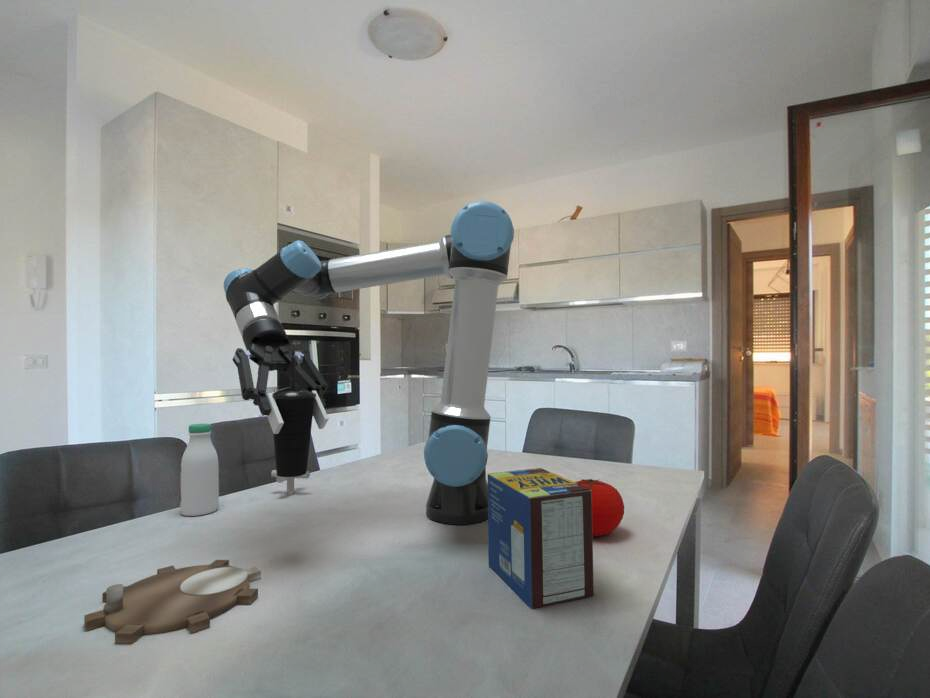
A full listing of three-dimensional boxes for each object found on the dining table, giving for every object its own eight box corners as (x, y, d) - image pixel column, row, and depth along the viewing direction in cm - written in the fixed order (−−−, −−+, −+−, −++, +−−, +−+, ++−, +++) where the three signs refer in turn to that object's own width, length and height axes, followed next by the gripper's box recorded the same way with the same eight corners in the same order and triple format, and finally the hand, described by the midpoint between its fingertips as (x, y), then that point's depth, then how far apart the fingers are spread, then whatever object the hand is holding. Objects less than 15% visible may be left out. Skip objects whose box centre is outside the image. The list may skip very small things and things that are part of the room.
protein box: (542, 556, 84) (541, 467, 84) (595, 597, 70) (593, 488, 70) (486, 565, 80) (485, 472, 81) (530, 610, 66) (529, 496, 66)
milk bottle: (226, 508, 113) (226, 423, 113) (195, 518, 106) (195, 427, 106) (203, 505, 116) (203, 421, 116) (172, 514, 109) (172, 425, 109)
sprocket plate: (286, 568, 80) (286, 542, 80) (210, 645, 58) (210, 610, 58) (159, 566, 81) (159, 541, 81) (38, 641, 59) (38, 607, 60)
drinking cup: (287, 482, 77) (288, 357, 78) (258, 475, 82) (259, 356, 82) (324, 472, 84) (326, 357, 84) (296, 466, 88) (297, 356, 88)
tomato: (573, 519, 103) (572, 470, 104) (629, 528, 98) (628, 476, 98) (554, 537, 93) (553, 482, 93) (616, 548, 87) (615, 490, 88)
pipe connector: (297, 500, 119) (297, 459, 119) (261, 498, 121) (261, 458, 121) (317, 489, 129) (317, 452, 129) (284, 488, 131) (284, 451, 131)
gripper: (305, 347, 101) (346, 433, 89) (199, 344, 86) (232, 447, 75) (318, 320, 97) (363, 407, 86) (210, 313, 83) (246, 416, 71)
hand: (302, 426), depth 80 cm, fingers closed on drinking cup, 7 cm apart
